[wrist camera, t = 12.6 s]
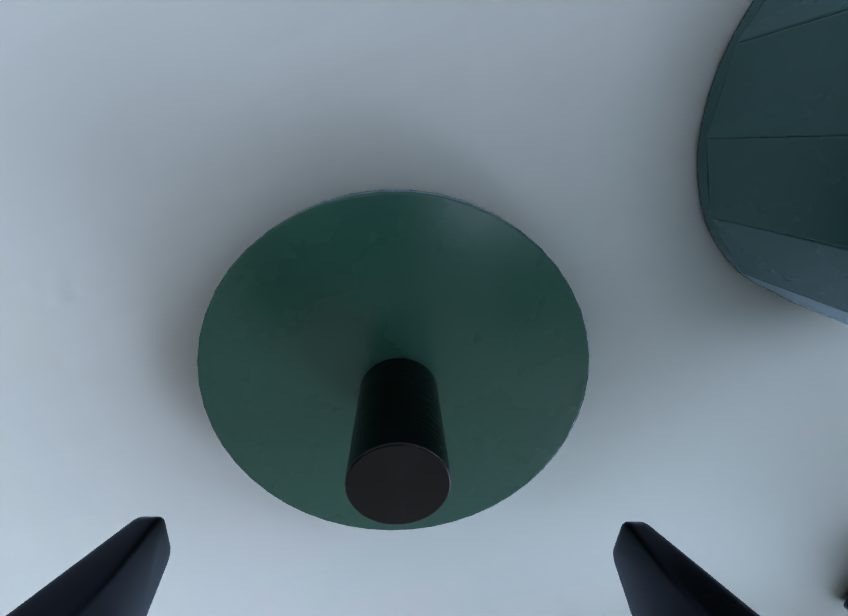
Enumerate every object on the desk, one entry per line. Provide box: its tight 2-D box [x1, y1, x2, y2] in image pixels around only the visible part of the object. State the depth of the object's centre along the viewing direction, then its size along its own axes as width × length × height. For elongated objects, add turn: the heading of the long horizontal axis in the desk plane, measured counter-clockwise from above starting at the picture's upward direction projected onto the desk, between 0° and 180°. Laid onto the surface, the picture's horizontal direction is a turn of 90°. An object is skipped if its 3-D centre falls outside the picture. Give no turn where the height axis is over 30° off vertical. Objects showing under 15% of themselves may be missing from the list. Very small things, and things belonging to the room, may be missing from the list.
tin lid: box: [197, 190, 589, 530], centre depth 11 cm, size 12×12×5 cm
